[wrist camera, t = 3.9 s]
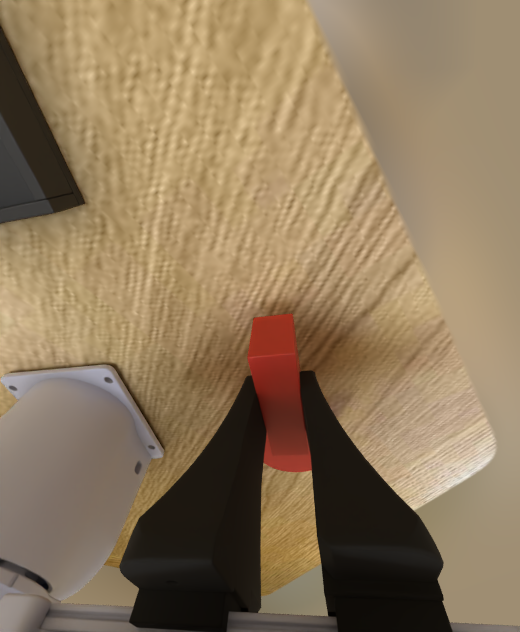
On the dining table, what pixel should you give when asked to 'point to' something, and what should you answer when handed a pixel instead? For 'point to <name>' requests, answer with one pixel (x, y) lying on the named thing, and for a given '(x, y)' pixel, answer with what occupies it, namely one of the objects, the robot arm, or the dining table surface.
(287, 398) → the red spoon
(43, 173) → the tray
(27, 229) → the dining table surface
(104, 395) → the robot arm
